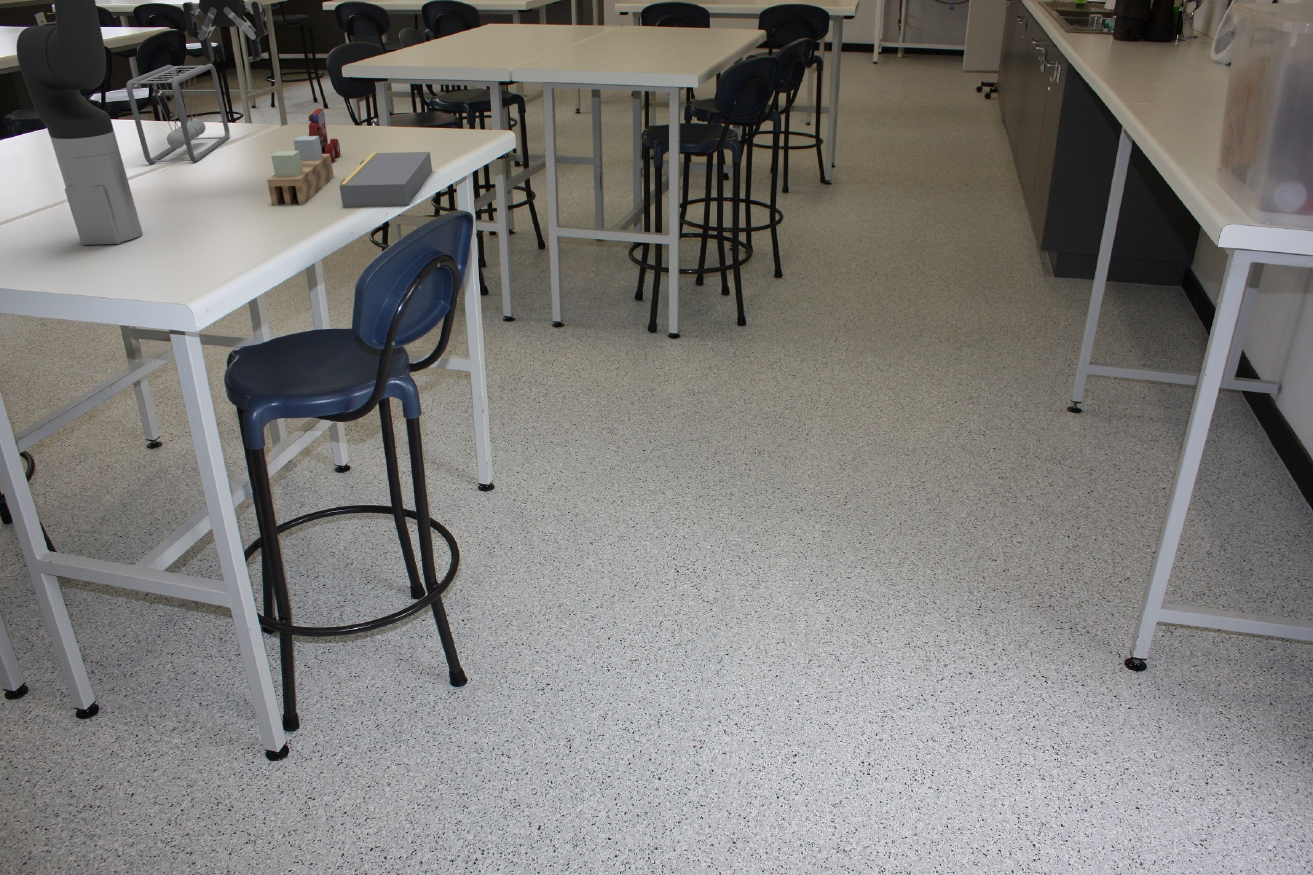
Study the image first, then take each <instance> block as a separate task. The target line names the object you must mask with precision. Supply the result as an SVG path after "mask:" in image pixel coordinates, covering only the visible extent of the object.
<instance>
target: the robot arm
mask: <svg viewBox="0 0 1313 875" xmlns="http://www.w3.org/2000/svg"><path fill="white" fill-rule="evenodd" d="M52 1H53V7H54V11H55V12H54V14H55V25H32V26H28V27H26V28H23V30H21V32H20V33H19V35H18V36H17V41H16V57H17V61H18V65H19V69H20V71H21V72H20V73H21V75H22V77H23V80H24V83H25V86H26V88H27V91H28V93H29V96H30V99H31V101H32V103H33V104H32V105H33V107H34V110H35V112H36V114H37V116H38V118H39V119H40V120H41V122H42V123H43V124H44V126H45V127H46V129H47V132H48V135H49V138H50V140H51V144H52V147H53V151H54V154H55V158H56V160H57V164H58V167H59V169H60V170H59V171H60V173H61V177H62V180H63V183H64V187H65V188H64V193H65V195H66V199H67V201H68V205H69V208H70V211H71V215H72V218H73V221H74V224H75V228H76V230H77V233H78V236H79V241H80V243H81V245H82V246H84V245H87V246H89V245H92V246H93V245H118V244H121V243H123V242H127V241H130V240H133V239H136V238H139V237H140V236H142V235H143V230H142V225H141V222H140V219H139V215H138V211H137V208H136V205H135V201H134V198H133V197H134V196H133V193H132V189H131V186H130V183H129V179H128V175H127V173H126V169H125V168H126V167H125V165H124V161H123V158H122V155H121V151H120V146H119V144H118V140H117V136H116V133H115V130H114V127H113V126H114V125H113V122H112V119H111V116H110V115H109V113H107V112H106V111H105V110H103V109H101V108H99V107H97V106H96V105H93V104H92V103H90V102H89V101H88V100H86V99H85V97H83V95H82V94H81V91H80V90H94V89H96V88H98V87H99V86H101V84H102V83H103V81H104V79H105V76H106V73H107V72H106V71H107V57H106V49H105V43H104V37H103V32H102V29H101V23H100V19H99V13H98V9H97V3H96V0H52ZM198 1H199V2H192V1H186V2H183V4H182V9H183V10H182V11H183V14H184V21H185V27H186V33H187V36H188V37H189V38H195V39H197V40H198V41H199V43H200V47H201V52H202V56H203V58H204V59H206V61H207V62H212V63H213V62H215V60H216V59H215V54H214V48H213V45H212V40H211V39H209V38H210V37H211V35H212V33H213V31H214V30H215V28H222V27H229V28H232V27H233V28H235V27H238V28H239V29H240V30H241V31H243V32H244V33H245V34H246V36H248V38H249V40H248V41H249V46H250V47H249V48H250V51H251V58H252V61H254V62H258V61H260V58H262V56H263V52H262V46H261V41H260V39H261V37H264V36H266V35H268V34H269V28H268V25H267V21H266V17H265V13H264V10H263V4H262V2H261V1H260V0H253V1H247V2H246V1H245V0H198ZM247 10H248V11H249V13H250V14H252V15H253V18H254V21H255V25H256V29H257V30H256V29H255V28H254V26H253V25H252V23H251V22H250V21H249V20H248V19H247V18H246V17H245V16H244V15H245V13H246V11H247ZM199 11H200V12H201V13H202V14H203V15H204V16H205V19H204V21H203V23H202V25H201V29H200V30H199V28H198V21H197V15H198V14H199Z"/></svg>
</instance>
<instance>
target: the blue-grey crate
mask: <svg viewBox="0 0 1313 875" xmlns="http://www.w3.org/2000/svg"><path fill="white" fill-rule="evenodd" d="M293 145H294V151H299V153H300V158H301V161H313V160H318V159H320V158H321V157H322V150H321V145H320V139H319V136H309V135H307V136H305V135H303V136H298V137H296V138H295V139H293Z"/></svg>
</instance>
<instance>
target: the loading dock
mask: <svg viewBox="0 0 1313 875" xmlns="http://www.w3.org/2000/svg"><path fill="white" fill-rule="evenodd" d="M432 172H433V167H432V157H431V151H412V152H410V151H409V152H406V151H404V152H372V153H371V154H369V156H368V157H367V158H366V159H363V160H362V161H361V162H360V163H359V165H358V167H357V168H356V169H355V170H354V171H352V172H351V173H350V174H349V176H347V177H346V178H344V179H343V180H341V182H340V185H339V191H340V198H341V204H342V208H364V207H366V208H367V207H369V208H371V207H402V206H403V207H407V206H409V204H410V203H411V202H412V200H413V199H414V197H415V196H416V195H417V193H418V192H419V190H420V189H421V188H422V186H423V185H424V183H425V182H426V180H427V179H428V178H429V176H430V175H431V173H432Z"/></svg>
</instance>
